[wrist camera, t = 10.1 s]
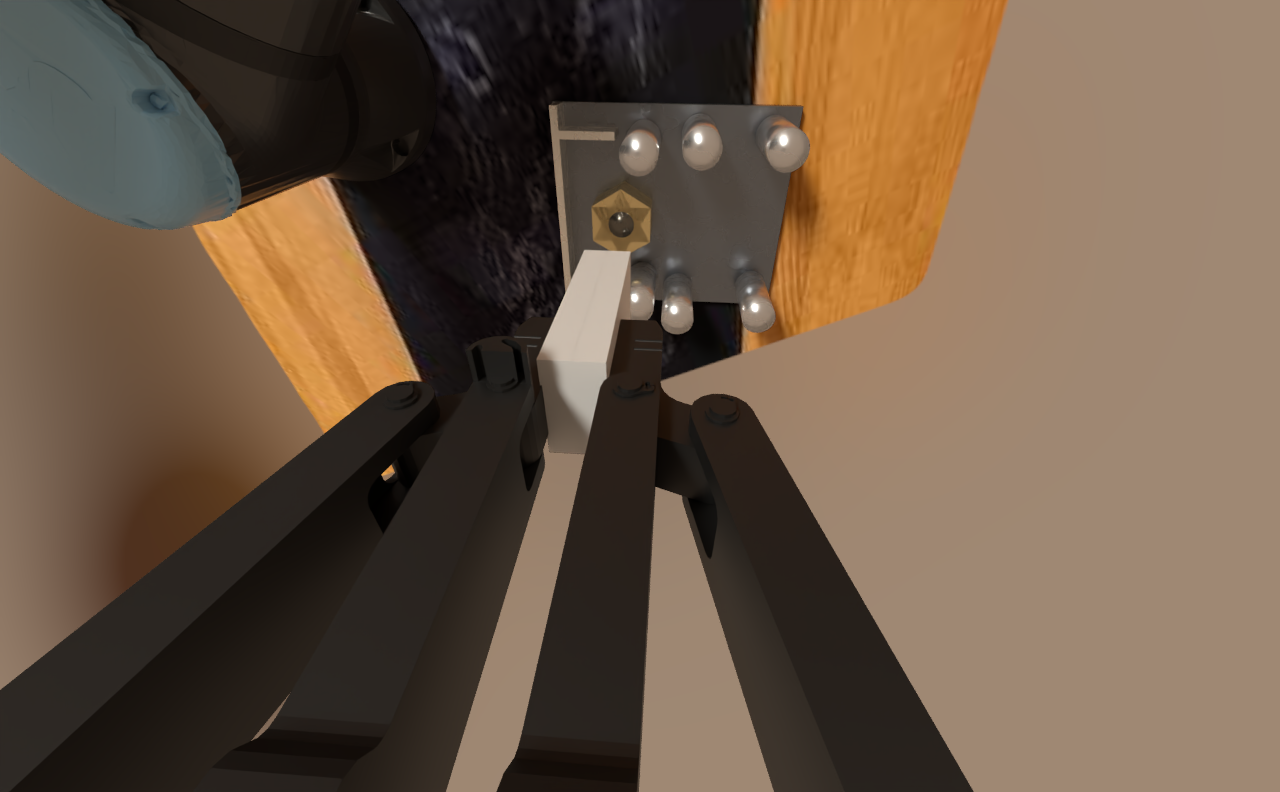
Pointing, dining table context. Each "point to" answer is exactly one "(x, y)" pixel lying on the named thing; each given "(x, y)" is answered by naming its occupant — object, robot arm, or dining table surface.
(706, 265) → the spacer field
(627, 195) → the nut
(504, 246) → the dining table surface
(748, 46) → the dining table surface
